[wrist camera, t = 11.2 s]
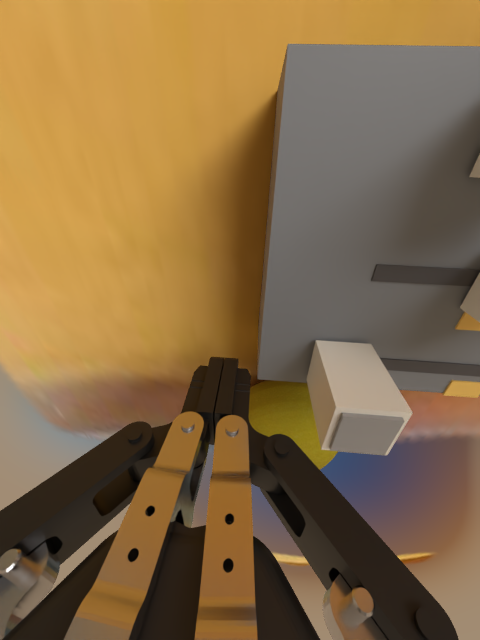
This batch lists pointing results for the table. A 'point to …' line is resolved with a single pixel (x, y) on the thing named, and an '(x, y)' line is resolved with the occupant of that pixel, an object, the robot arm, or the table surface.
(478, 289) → the slider mid
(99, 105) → the table surface
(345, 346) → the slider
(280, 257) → the console
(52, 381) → the table surface
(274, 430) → the lemon
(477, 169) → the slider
